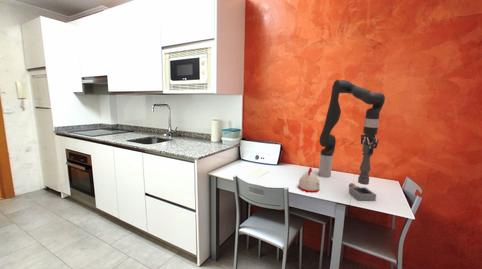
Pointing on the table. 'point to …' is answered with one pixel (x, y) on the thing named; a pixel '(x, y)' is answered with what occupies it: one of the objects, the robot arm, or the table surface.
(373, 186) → the table surface
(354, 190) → the grey tray
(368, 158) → the candle holder
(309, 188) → the beige red dome
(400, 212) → the table surface
